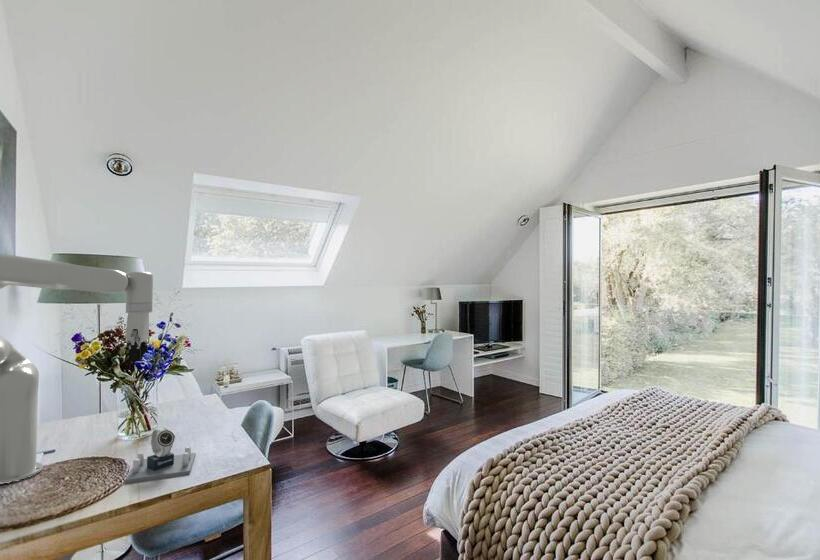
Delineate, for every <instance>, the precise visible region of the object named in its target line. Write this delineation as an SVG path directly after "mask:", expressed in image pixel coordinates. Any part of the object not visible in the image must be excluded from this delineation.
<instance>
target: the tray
mask: <svg viewBox="0 0 820 560" xmlns="http://www.w3.org/2000/svg"><path fill="white" fill-rule="evenodd" d="M191 447H192V446H186V447H185V448H184V452H183V453H182V454H174V464H173V465H170V466H167V467H164V468H161V469H159V470H156V471H153V470H151V469H149V468H147V458H145V459H144V457H145V452H142V451H140V452H138V453H137V454H136V456H137V458H134V459H133V460H132V468H131V469H130V471H129V473H128V474H127V476H126V477H125V479H124V484H128V483H129V484H130V483H137V482H144V481H145V482H146V481H151V480H157V479H165V478H166V479H167V478H173V477H178V476H180V477H181V476H184V475H186V476H187V475H190V474H191V471H192V468H193V465H194V462H195V458H196V452H192V451H191V450H192V448H191Z"/></svg>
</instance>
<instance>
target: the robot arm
mask: <svg viewBox="0 0 820 560" xmlns="http://www.w3.org/2000/svg"><path fill="white" fill-rule="evenodd" d="M7 286H16V287H17V286H18V287H30V288H38V289H47V290H48V289H49V290H61V291H62V290H63V291H64V290H71V291H72V290H73V291H85V292H96V293H104V294H119V293H125V314H127V318H126V319H127V320H126V329H125V342H126V343H127V344H129V345H128V362H132V363H133V362H141V360H142V359H141V358H143V357H142V356H143V354H144V353H145V352H147V353H148V347H149V346H148V339H149V337H150V335H149V334H150V333H149V332H150V313H153V299H154V298H153V295H154V293H153V289H154V276H153V274H152V273H151V272H149V271H129V272H124V271H121V270H118V269H111V268H105V267H104V268H103V267H102V268H101V267H95V266H87V265H80V264H74V263H69V262H65V261H56V260H48V259H40V258H33V257H26V256H25V257H24V256H18V255H11V254H0V290H2V289H3V288H5V287H7ZM39 378H40V373H39V371H38V368H37V366H35V364H34V363H33V362H31V361H30V360H29V358H27V357H26V356H25V355H24V353H22V352H21V351H19V350H18V349H17V348H16V347H15V346H14V345H13V344H12V343H11V342H10V341H9V340H7V339H6V338H4V337H3V336H0V482H9V481H15V480H20V479H24V478H27V477H29V476H32V475H34V474H36V473H38V472H40V471H41V470H42V469H43V470H44V464H43V463H41V462H37V452H38V451H37V446H38V445H37V444H38V443H37V442H38V404H39V403H38V400H39V383H40V382H39ZM43 470H42V471H43ZM42 471H41V472H42ZM41 472H40V473H41ZM38 474H39V473H38ZM36 475H37V474H36ZM34 476H35V475H34ZM32 477H33V476H32ZM27 479H28V478H27ZM24 480H25V479H24Z"/></svg>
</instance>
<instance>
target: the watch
mask: <svg viewBox="0 0 820 560" xmlns="http://www.w3.org/2000/svg"><path fill="white" fill-rule="evenodd" d="M175 438H176V435H175V434H174V433H173V432H172V431H171V430H170V429H168V428H167V427H160V428H156V429H153V430H152V432H151V439H150V446H151V450H152V453H153V454H152V455H149V456H146V459H147V468H149V469H151V470H153V471H156V470H159V469H161V468H164V467H167V466H170V465H173V464H174V455H175V453H174V452H171V450H172V448H173V445H174V442H175Z"/></svg>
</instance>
